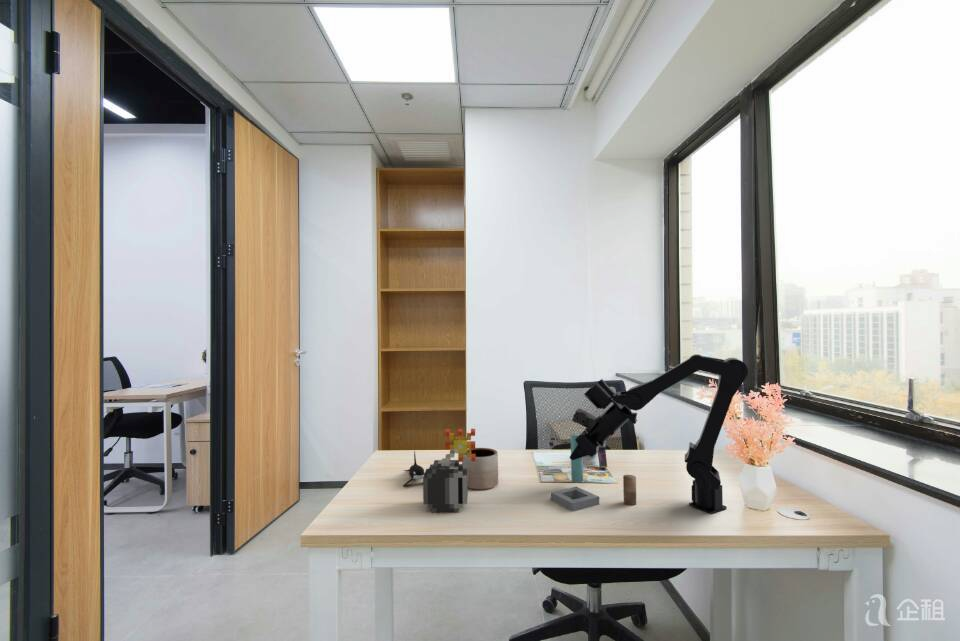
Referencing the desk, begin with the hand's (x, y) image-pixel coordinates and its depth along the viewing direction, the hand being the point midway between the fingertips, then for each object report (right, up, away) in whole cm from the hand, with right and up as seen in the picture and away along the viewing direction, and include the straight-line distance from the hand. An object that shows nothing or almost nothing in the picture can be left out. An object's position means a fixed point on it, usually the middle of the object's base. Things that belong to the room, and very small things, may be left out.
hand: (571, 457), depth 133 cm
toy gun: (+15, -10, +27) cm, 32 cm away
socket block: (-1, -9, -10) cm, 14 cm away
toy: (-47, -10, +10) cm, 49 cm away
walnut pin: (+13, -9, -11) cm, 19 cm away
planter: (-27, -10, +4) cm, 29 cm away
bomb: (-34, -9, -12) cm, 38 cm away
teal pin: (+1, -7, -1) cm, 7 cm away
